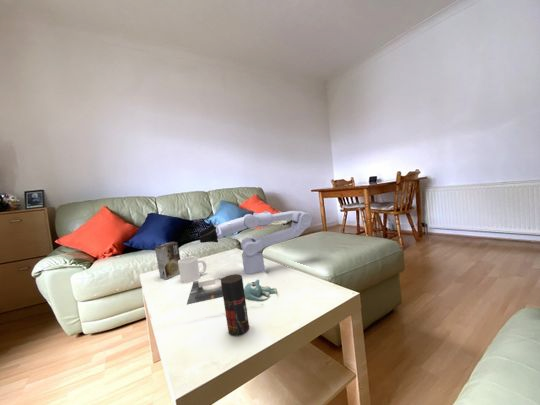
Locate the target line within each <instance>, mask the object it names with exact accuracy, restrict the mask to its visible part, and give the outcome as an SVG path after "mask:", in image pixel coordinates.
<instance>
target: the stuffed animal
mask: <svg viewBox="0 0 540 405" xmlns="http://www.w3.org/2000/svg"><path fill="white" fill-rule="evenodd" d="M244 294H245V299H247V300H251V301H256V302H263V301H266V300H268V299H270V298H271V297H272V296H271V294H276V295H277V294H278V290H277V288H276V287H270V286H268V285H265V286H261V284H260V279H256V280H254V281H251V282H247V284H246V285H245V286H244ZM261 295H264V296H265V297H267V298H263V297H260V296H261Z"/></svg>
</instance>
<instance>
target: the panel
mask: <svg viewBox="0 0 540 405" xmlns="http://www.w3.org/2000/svg"><path fill="white" fill-rule="evenodd" d="M224 277H225V276H224ZM224 277H219V278H217V279H220V280H221V279H222V278H224ZM219 298H223V292H222V288H221V289H216V290H212V291H207V292H203V288H202V287H199V288H195V289H194V288H193V284H192V286H191V289H190V291H189V295H188V298H187V302H186V305H187V306H188V305H190V304H191V305H192V304H197V303H202V302H205V301H211V300H215V299H219Z"/></svg>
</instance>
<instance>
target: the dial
mask: <svg viewBox="0 0 540 405" xmlns="http://www.w3.org/2000/svg"><path fill="white" fill-rule="evenodd" d="M192 285H193V288H194V289H195V288H199V287H202V288H203V292H207V291H212V290H216V289H221V288H222V286H221V280H220V279H218V278H215V277H210V278H206V279H200V280H195V281H193V283H192Z"/></svg>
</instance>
